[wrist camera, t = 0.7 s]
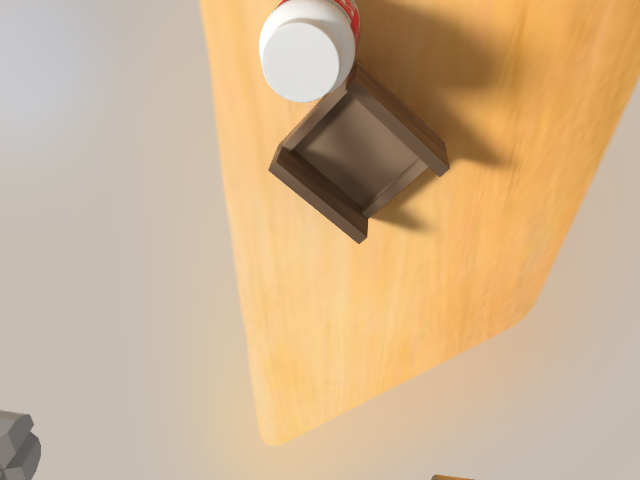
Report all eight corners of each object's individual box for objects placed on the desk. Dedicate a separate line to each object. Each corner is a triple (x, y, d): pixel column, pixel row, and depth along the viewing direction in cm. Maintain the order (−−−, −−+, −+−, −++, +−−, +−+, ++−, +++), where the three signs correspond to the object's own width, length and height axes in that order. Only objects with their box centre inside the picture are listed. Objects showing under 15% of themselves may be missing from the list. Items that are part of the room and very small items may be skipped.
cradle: (358, 59, 41) (354, 79, 37) (444, 143, 44) (449, 168, 41) (278, 145, 46) (268, 170, 42) (361, 214, 49) (358, 244, 45)
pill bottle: (370, -9, 39) (366, 25, 29) (348, 73, 42) (338, 126, 33) (287, -32, 38) (257, -5, 29) (272, 52, 42) (241, 100, 33)
